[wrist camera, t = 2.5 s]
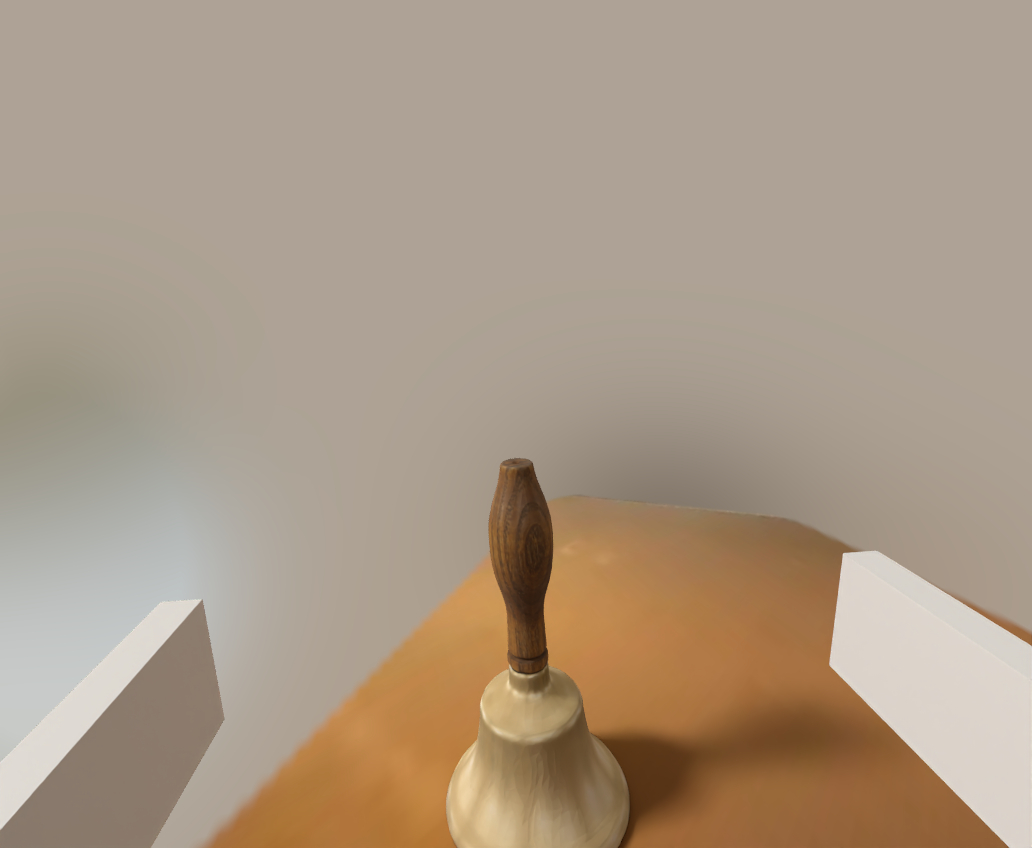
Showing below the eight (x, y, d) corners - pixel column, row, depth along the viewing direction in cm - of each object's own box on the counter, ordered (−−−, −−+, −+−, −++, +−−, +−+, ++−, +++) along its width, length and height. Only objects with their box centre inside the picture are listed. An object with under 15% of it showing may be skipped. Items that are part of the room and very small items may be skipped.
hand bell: (407, 833, 23) (363, 484, 19) (505, 703, 30) (487, 428, 26) (587, 939, 19) (577, 523, 15) (652, 761, 26) (657, 445, 22)
